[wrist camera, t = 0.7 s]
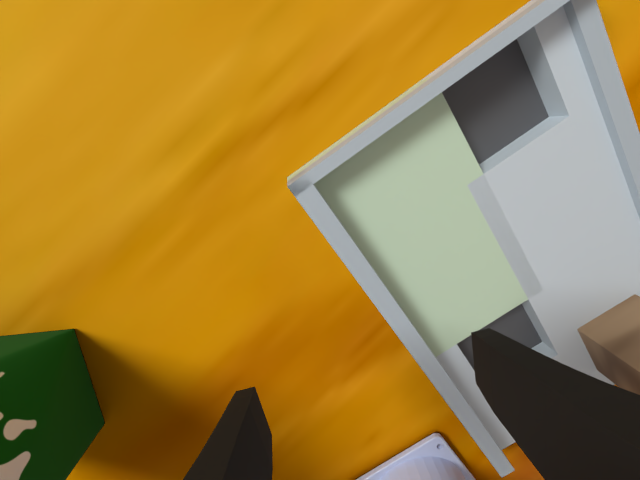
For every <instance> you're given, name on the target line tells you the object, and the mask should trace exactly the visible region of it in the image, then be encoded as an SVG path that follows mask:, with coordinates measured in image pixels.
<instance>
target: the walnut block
mask: <svg viewBox="0 0 640 480" xmlns="http://www.w3.org/2000/svg"><path fill="white" fill-rule="evenodd" d="M577 330H578V332H579V334H580V336H581V338H582V340H583V342H584V344H585V346H586V349H587V351H588V353H589V355H590V357H591V359H592V361H593V363H594V365H595V367H596V369H597V370H598V371H599V372H600V373H601V374H603V375H604V376H605V377H607V378H608V379H609V380H610V381H612V382H613V383H614V384H616V385H617V386H618V387H620V388H622V389H625V390H627V391H630V392H633V393H636V394H638V395H640V296H638V295H636V294H634V295H633V296H631V297H629V298H628V299H626V300H624V301H623V302H621V303H619V304H618V305H616V306H614V307H613V308H611V309H609V310H608V311H606V312H604V313H603V314H601V315H600V316H598V317H596V318H595V319H593V320H591V321H590V322H588V323H586V324H585V325H583V326H581V327H580V328H578V329H577Z"/></svg>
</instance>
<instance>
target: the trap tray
mask: <svg viewBox="0 0 640 480" xmlns="http://www.w3.org/2000/svg"><path fill="white" fill-rule="evenodd" d="M287 186H288V188H289V189H290V191H291V192H292V193H293V195H294V196H295V197H296V199H297V200H298V201H299V203H300V204H301V205H302V207H303V208H304V210H305V211H306V212H307V214H308V215H309V216H310V218H311V219H312V220H313V222H314V223H315V224H316V226H317V227H318V229H319V230H320V231H321V233H322V234H323V235H324V237H325V238H326V239H327V241H328V242H329V244H330V245H331V246H332V248H333V249H334V250H335V252H336V253H337V254H338V256H339V257H340V258H341V260H342V261H343V263H344V264H345V265H346V267H347V268H348V269H349V271H350V272H351V273H352V275H353V276H354V277H355V279H356V280H357V282H358V283H359V284H360V286H361V287H362V288H363V290H364V291H365V292H366V294H367V295H368V297H369V298H370V299H371V301H372V302H373V303H374V305H375V306H376V307H377V309H378V310H379V311H380V313H381V314H382V316H383V317H384V318H385V320H386V321H387V322H388V324H389V325H390V326H391V328H392V329H393V330H394V332H395V333H396V335H397V336H398V337H399V339H400V340H401V341H402V343H403V344H404V345H405V347H406V348H407V350H408V351H409V352H410V354H411V355H412V356H413V358H414V359H415V360H416V362H417V363H418V364H419V366H420V367H421V369H422V370H423V371H424V373H425V374H426V375H427V377H428V378H429V379H430V381H431V382H432V383H433V385H434V386H435V388H436V389H437V390H438V392H439V393H440V394H441V396H442V397H443V398H444V400H445V401H446V403H447V404H448V405H449V407H450V408H451V409H452V411H453V412H454V413H455V415H456V416H457V417H458V419H459V420H460V422H461V423H462V424H463V426H464V427H465V428H466V430H467V431H468V432H469V434H470V435H471V436H472V438H473V439H474V441H475V442H476V443H477V445H478V446H479V447H480V449H481V450H482V451H483V453H484V454H485V456H486V457H487V458H488V460H489V461H490V462H491V464H492V465H493V466H494V468H495V469H496V470H497V472H498V473H499V475H500V476H501V477H504V476H506V475H507V474H509V473H511V472H513V471H514V468H513V467H512V465H511V464H510V462H509V461H508V459H507V458H506V456H505V455H504V453H503V452H502V450H503V449H504V448H506V447H508V446H509V445H511V444H513V443H515V442H516V441H515V440H514V439H513V438H512V436H511V435H510V434H509V432H508V431H507V430H506V428H505V427H504V426H503V424H502V423H501V422H500V420H499V419H498V418H497V416H496V415H495V414H494V412H493V411H492V409H491V408H490V406H489V404H488V403H487V401H486V399H485V398H484V396H483V394H482V393H481V391H480V389H479V387H478V386H477V384H476V381H475V370H474V359H473V348H472V337H471V332H475V331H479V330H483V329H487V328H490V329H493V330H495V331H497V332H499V333H501V334H503V335H505V336H507V337H509V338H511V339H513V340H515V341H517V342H519V343H521V344H523V345H525V346H527V347H529V348H531V349H533V350H535V351H537V352H539V353H541V354H543V355H545V356H547V357H549V358H552V359H554V360H556V361H558V362H560V363H562V364H564V365H567V366H569V367H571V368H573V369H575V370H578V371H580V372H583V373H585V374H587V375H590V376H592V377H594V378H597V379H599V380H601V381H604V382H606V383H609V384H611V385H615V384H614V383H613V382H612V381H610V380H609V379H608V378H607V377H605V376H604V375H603V374H601V373H600V372H599V371H598V370H597V369H596V367H595V365H594V363H593V361H592V359H591V357H590V355H589V353H588V351H587V349H586V346H585V344H584V342H583V340H582V338H581V336H580V334H579V332H578V330H577V329H578V328H580V327H581V326H583V325H585V324H586V323H588V322H590V321H591V320H593V319H595V318H596V317H598V316H600V315H601V314H603V313H604V312H606V311H608V310H609V309H611V308H613V307H614V306H616V305H618V304H619V303H621V302H623V301H624V300H626V299H628V298H629V297H631V296H633V295H634V294H636V295H638V296H640V133H639V130H638V127H637V124H636V121H635V118H634V115H633V112H632V109H631V106H630V103H629V99H628V96H627V93H626V90H625V87H624V84H623V81H622V78H621V75H620V72H619V69H618V66H617V63H616V60H615V57H614V54H613V51H612V48H611V44H610V41H609V38H608V35H607V32H606V29H605V26H604V23H603V20H602V17H601V14H600V11H599V8H598V5H597V2H596V0H531V1H529V2H528V3H527V4H525V5H524V6H523V7H521V8H520V9H518V10H517V11H516V12H514V13H513V14H512V15H510V16H509V17H507V18H506V19H505V20H503V21H502V22H501V23H499V24H498V25H496V26H495V27H494V28H492V29H491V30H489V31H488V32H487V33H485V34H484V35H483V36H481V37H480V38H478V39H477V40H476V41H474V42H473V43H472V44H470V45H469V46H467V47H466V48H465V49H463V50H462V51H461V52H459V53H458V54H456V55H455V56H454V57H452V58H451V59H450V60H448V61H447V62H445V63H444V64H443V65H441V66H440V67H439V68H437V69H436V70H434V71H433V72H432V73H430V74H429V75H427V76H426V77H425V78H423V79H422V80H421V81H419V82H418V83H416V84H415V85H414V86H412V87H411V88H410V89H408V90H407V91H405V92H404V93H403V94H401V95H400V96H399V97H397V98H396V99H394V100H393V101H392V102H390V103H389V104H388V105H386V106H385V107H383V108H382V109H381V110H379V111H378V112H377V113H375V114H374V115H372V116H371V117H370V118H368V119H367V120H365V121H364V122H363V123H361V124H360V125H359V126H357V127H356V128H354V129H353V130H352V131H350V132H349V133H348V134H346V135H345V136H343V137H342V138H341V139H339V140H338V141H337V142H335V143H334V144H332V145H331V146H330V147H328V148H327V149H326V150H324V151H323V152H321V153H320V154H319V155H317V156H316V157H315V158H313V159H312V160H310V161H309V162H308V163H306V164H305V165H303V166H302V167H301V168H299V169H298V170H297V171H295V172H294V173H292V174H291V175H290V176H288V177H287Z"/></svg>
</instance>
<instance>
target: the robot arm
mask: <svg viewBox="0 0 640 480" xmlns="http://www.w3.org/2000/svg"><path fill="white" fill-rule="evenodd" d="M471 337H472V348H473V359H474V370H475V381H476V384H477V386H478V387H479V389H480V391H481V393H482V394H483V396H484V398H485V399H486V401H487V403H488V404H489V406H490V408H491V409H492V411H493V412H494V414H495V415H496V416H497V418H498V419H499V420H500V422H501V423H502V424H503V426H504V427H505V428H506V430H507V431H508V432H509V434H510V435H511V436H512V438H513V439H514V440H515V441H516V443H517V444H518V445H519V447H520V448H521V449H522V450H523V452H524V453H525V454H526V456H527V457H528V458H529V460H530V461H531V462H532V463H533V465H534V466H535V467H536V469H537V470H538V471H539V473H540V474H541V475H542V476H543V478H544V479H545V480H640V395H638V394H636V393H633V392H630V391H627V390H625V389H622V388H619V387H617V386H614V385H611V384H609V383H606V382H604V381H601V380H599V379H597V378H594V377H592V376H590V375H587V374H585V373H583V372H580V371H578V370H575V369H573V368H571V367H569V366H567V365H564V364H562V363H560V362H558V361H556V360H554V359H552V358H549V357H547V356H545V355H543V354H541V353H539V352H537V351H535V350H533V349H531V348H529V347H527V346H525V345H523V344H521V343H519V342H517V341H515V340H513V339H511V338H509V337H507V336H505V335H503V334H501V333H499V332H497V331H495V330H493V329H490V328H487V329H483V330H479V331H475V332H471ZM272 469H273V468H272V434H271V432H270V429H269V426H268V423H267V420H266V417H265V414H264V412H263V409H262V406H261V403H260V400H259V397H258V395H257V392H256V389H255V387H252V388H248V389H244V390H240V391H236V392H235V394H234V396H233V397H232V399H231V401H230V403H229V404H228V406H227V408H226V410H225V412H224V413H223V415H222V417H221V419H220V420H219V422H218V424H217V426H216V427H215V429H214V431H213V433H212V434H211V436H210V438H209V439H208V441H207V443H206V444H205V446H204V448H203V449H202V451H201V453H200V454H199V456H198V458H197V459H196V461H195V462H194V464H193V465H192V467H191V468H190V470H189V471H188V473H187V474H186V476H185V477H184V479H183V480H272ZM356 480H476V479H475V478H474V477H473V475H472V474H471V473H470V472H469V470H468V469H467V468H466V466H465V465H464V464H463V463H462V461H461V460H460V459H459V457H458V456H457V455H456V454H455V452H454V451H453V450H452V449H451V447H450V446H449V445H448V443H447V442H446V441H445V440H444V438H443V437H442V436H441V435H440V434H439V433H433V434H431V435H429V436H428V437H426V438H424V439H423V440H421V441H419V442H418V443H416V444H414V445H413V446H411V447H409V448H408V449H406V450H404V451H403V452H401V453H399V454H398V455H396V456H394V457H393V458H391V459H389V460H388V461H386V462H384V463H383V464H381V465H379V466H378V467H376V468H374V469H373V470H371V471H369V472H368V473H366V474H364V475H363V476H361V477H359V478H358V479H356Z"/></svg>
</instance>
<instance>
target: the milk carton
mask: <svg viewBox="0 0 640 480" xmlns="http://www.w3.org/2000/svg"><path fill="white" fill-rule="evenodd" d="M104 424H105V422H104V419H103V416H102V413H101V410H100V407H99V403H98V400H97V397H96V394H95V391H94V388H93V385H92V382H91V379H90V376H89V373H88V370H87V367H86V364H85V361H84V358H83V355H82V352H81V349H80V345H79V342H78V339H77V336H76V333H75V330H74V329H68V330H58V331H48V332H38V333H28V334H18V335H8V336H0V480H66V478H67V477H68V475H69V474H70V473H71V471H72V470H73V468H74V467H75V465H76V464H77V463H78V461H79V460H80V458H81V457H82V455H83V454H84V453H85V451H86V450H87V448H88V447H89V445H90V444H91V442H92V441H93V440H94V438H95V437H96V435H97V434H98V432H99V431H100V430H101V428H102V427H103V425H104Z"/></svg>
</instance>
